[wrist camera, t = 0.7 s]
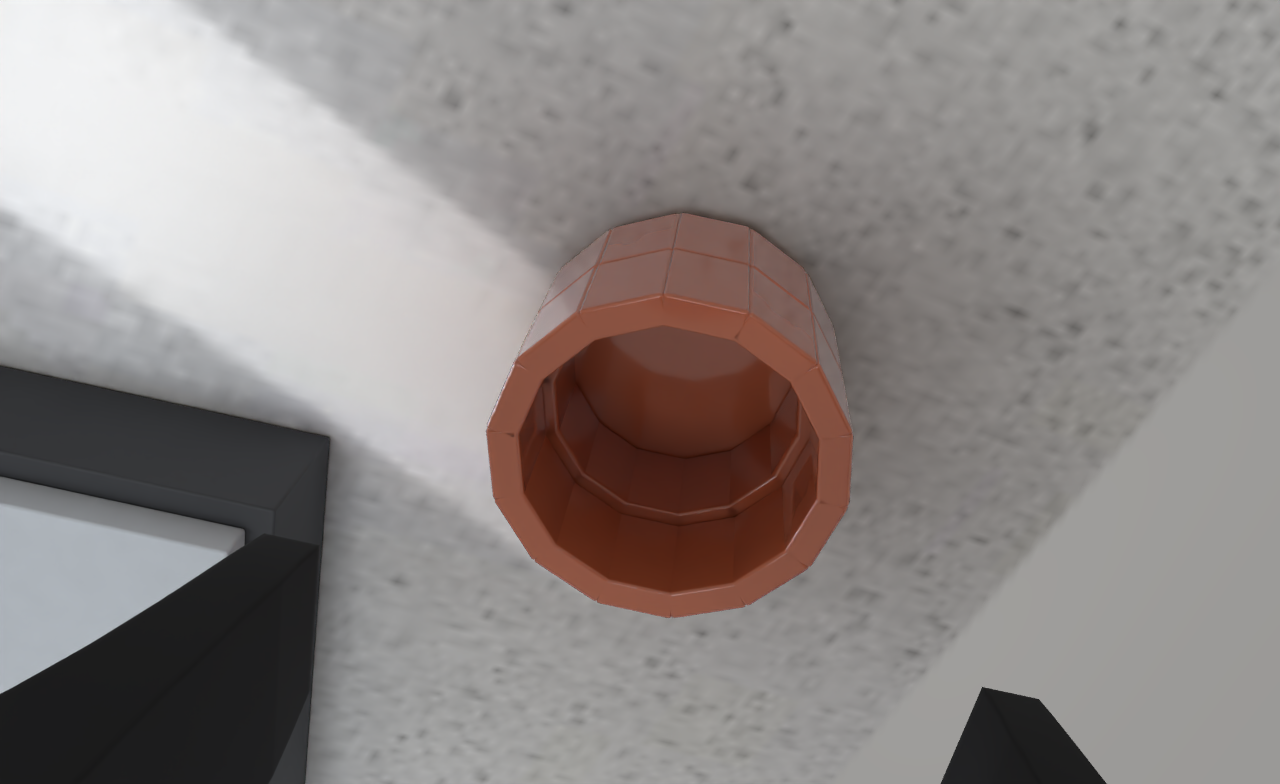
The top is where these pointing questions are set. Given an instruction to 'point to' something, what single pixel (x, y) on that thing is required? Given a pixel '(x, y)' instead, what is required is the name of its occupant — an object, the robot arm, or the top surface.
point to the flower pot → (675, 421)
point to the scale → (134, 513)
